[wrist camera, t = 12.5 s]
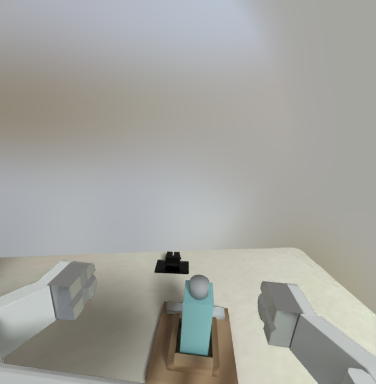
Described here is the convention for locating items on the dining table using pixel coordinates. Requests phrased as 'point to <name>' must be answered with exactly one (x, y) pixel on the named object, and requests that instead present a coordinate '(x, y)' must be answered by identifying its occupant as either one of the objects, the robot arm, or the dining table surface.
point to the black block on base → (172, 264)
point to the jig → (191, 364)
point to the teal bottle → (197, 316)
